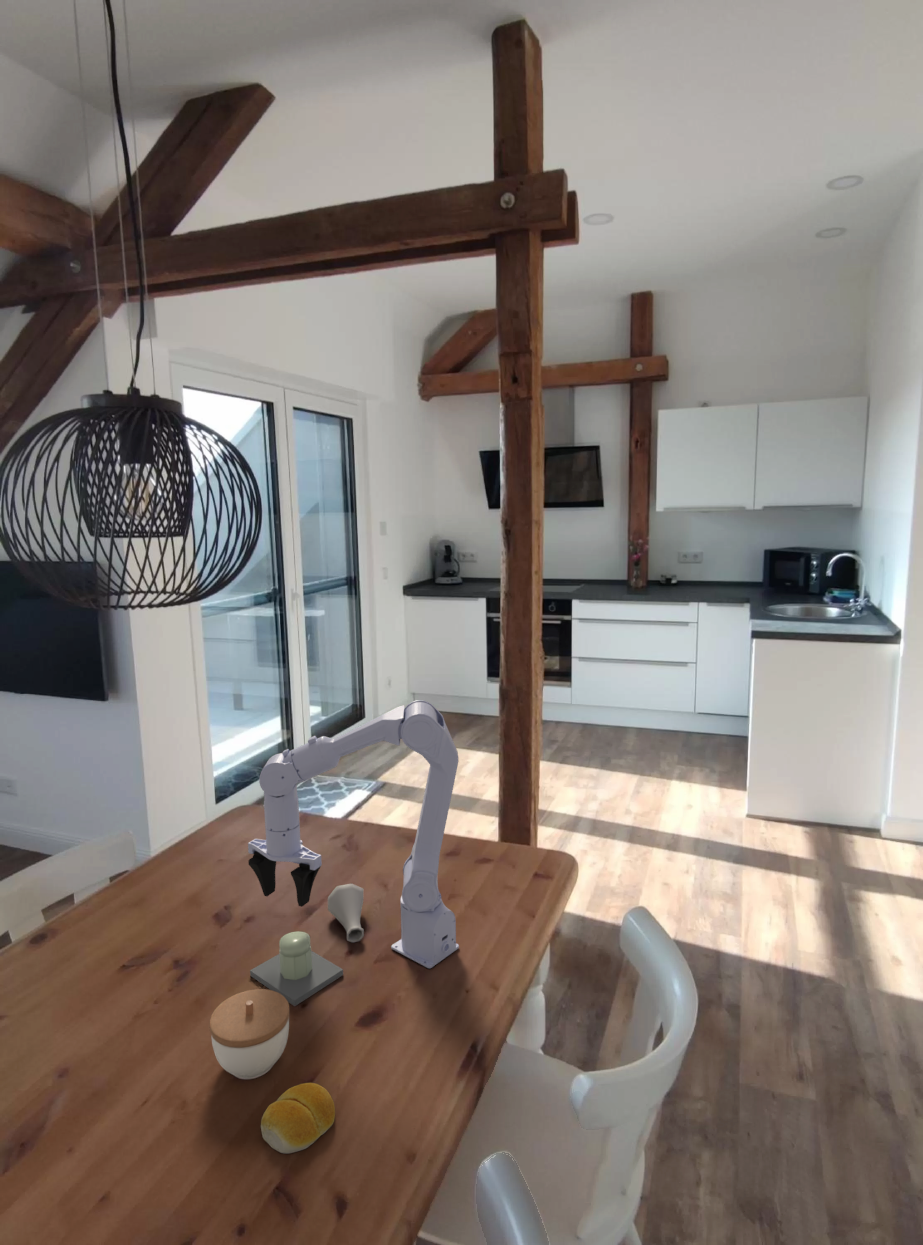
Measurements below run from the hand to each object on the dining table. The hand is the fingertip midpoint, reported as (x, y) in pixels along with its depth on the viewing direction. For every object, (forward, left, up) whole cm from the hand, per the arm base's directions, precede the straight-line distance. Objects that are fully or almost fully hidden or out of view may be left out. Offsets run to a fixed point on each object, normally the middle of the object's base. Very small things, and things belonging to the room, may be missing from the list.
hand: (286, 898), depth 126 cm
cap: (-6, +3, -9) cm, 12 cm away
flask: (+2, -14, -7) cm, 16 cm away
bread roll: (-31, +22, -11) cm, 39 cm away
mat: (-6, +3, -10) cm, 12 cm away
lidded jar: (-17, +19, -11) cm, 28 cm away
